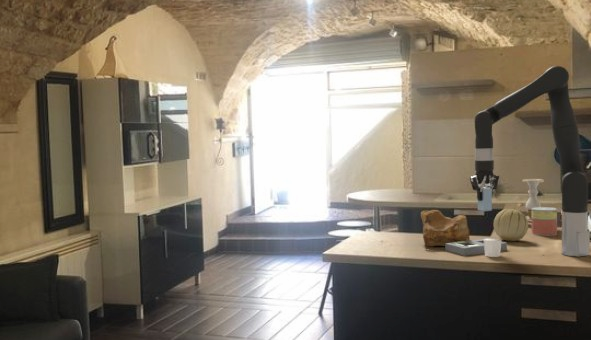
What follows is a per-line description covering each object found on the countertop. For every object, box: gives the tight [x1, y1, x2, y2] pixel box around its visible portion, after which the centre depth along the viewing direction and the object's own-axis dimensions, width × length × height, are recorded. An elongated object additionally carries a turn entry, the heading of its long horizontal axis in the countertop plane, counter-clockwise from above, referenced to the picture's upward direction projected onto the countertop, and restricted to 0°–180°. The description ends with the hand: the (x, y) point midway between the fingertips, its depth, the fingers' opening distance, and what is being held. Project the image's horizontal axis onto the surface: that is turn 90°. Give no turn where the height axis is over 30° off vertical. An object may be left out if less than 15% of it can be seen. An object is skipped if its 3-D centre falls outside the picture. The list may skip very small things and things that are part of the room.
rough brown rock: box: [420, 209, 471, 248], centre depth 262 cm, size 23×17×15 cm
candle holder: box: [521, 178, 545, 229], centre depth 306 cm, size 11×11×24 cm
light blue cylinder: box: [477, 186, 493, 212], centre depth 250 cm, size 4×4×10 cm
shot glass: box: [482, 237, 502, 258], centre depth 238 cm, size 7×7×7 cm
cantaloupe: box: [493, 207, 529, 242], centre depth 269 cm, size 15×15×15 cm
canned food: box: [531, 206, 558, 237], centre depth 285 cm, size 11×11×12 cm
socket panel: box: [444, 238, 508, 257], centre depth 249 cm, size 12×22×4 cm, turn 113°
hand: (484, 200), depth 250 cm, fingers closed on light blue cylinder, 4 cm apart
